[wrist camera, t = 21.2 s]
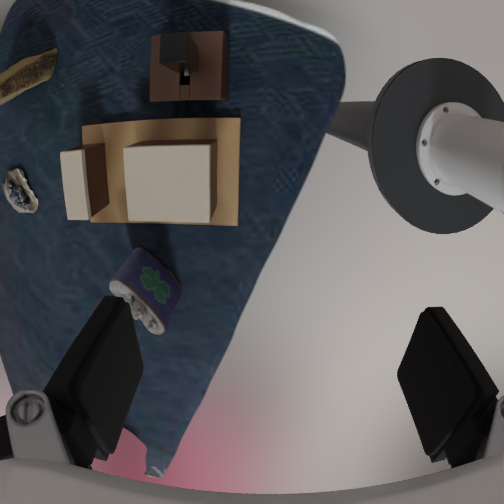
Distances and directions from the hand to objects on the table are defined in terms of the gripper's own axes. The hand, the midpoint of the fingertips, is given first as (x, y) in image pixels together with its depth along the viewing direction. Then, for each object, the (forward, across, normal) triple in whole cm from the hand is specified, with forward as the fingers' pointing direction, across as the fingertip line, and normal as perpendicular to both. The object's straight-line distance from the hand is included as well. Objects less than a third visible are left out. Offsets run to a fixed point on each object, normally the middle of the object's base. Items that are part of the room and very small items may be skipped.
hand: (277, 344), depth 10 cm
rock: (+31, +33, -14) cm, 47 cm away
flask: (+31, +14, +15) cm, 37 cm away
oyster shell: (+31, +36, +3) cm, 47 cm away
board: (+30, +13, +1) cm, 33 cm away
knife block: (+30, +8, -11) cm, 33 cm away
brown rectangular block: (+29, +21, +1) cm, 36 cm away
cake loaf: (+29, +10, +1) cm, 31 cm away
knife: (+29, +8, -11) cm, 32 cm away
